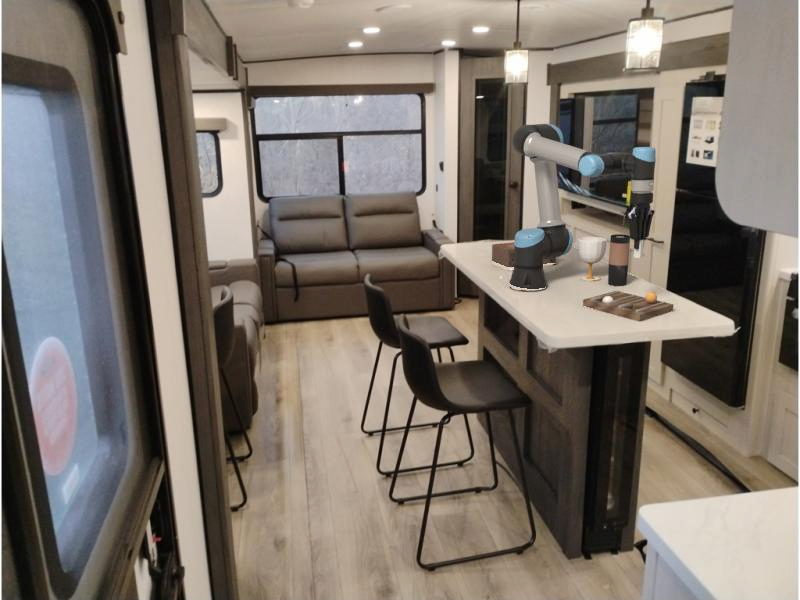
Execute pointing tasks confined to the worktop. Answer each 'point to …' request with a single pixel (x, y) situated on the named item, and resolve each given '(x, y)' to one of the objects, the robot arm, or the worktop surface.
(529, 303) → the worktop surface
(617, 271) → the travel mug
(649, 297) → the orange ball
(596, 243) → the cup
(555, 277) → the worktop surface
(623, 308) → the hole deck
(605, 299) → the cream ball
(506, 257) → the tissue box cover
